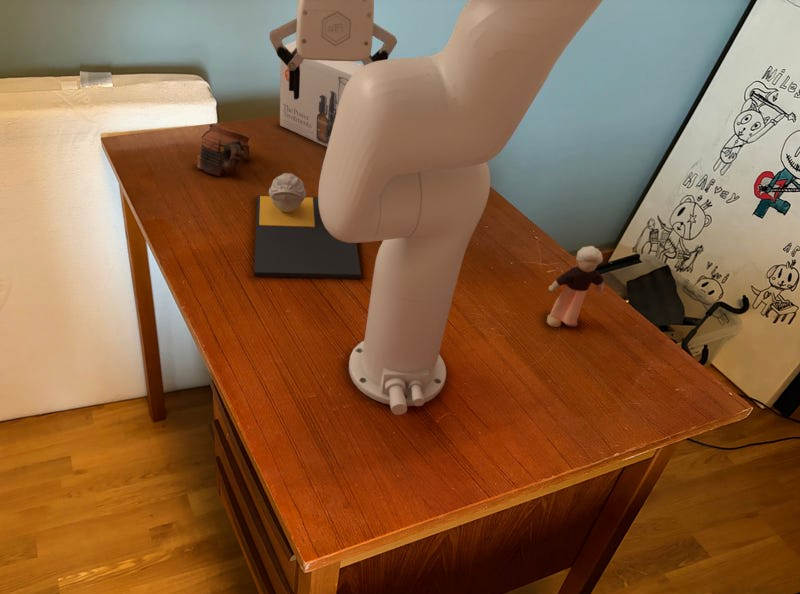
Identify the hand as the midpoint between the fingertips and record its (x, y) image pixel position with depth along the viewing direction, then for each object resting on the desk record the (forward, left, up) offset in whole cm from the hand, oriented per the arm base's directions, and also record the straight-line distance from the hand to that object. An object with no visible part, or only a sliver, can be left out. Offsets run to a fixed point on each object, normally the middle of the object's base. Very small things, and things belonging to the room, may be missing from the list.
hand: (329, 96), depth 99 cm
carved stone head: (+3, +6, -21) cm, 22 cm away
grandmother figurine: (-23, -34, -22) cm, 47 cm away
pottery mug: (+19, +17, -22) cm, 33 cm away
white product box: (+31, -2, -22) cm, 38 cm away
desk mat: (-3, +3, -22) cm, 22 cm away
